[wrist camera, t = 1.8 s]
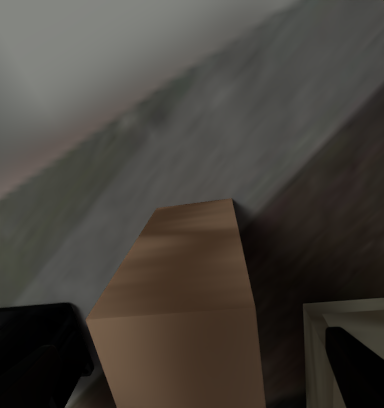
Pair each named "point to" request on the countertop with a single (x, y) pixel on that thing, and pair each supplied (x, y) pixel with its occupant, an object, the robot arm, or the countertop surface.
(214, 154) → the countertop surface
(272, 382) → the countertop surface
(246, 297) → the peg
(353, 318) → the socket box
